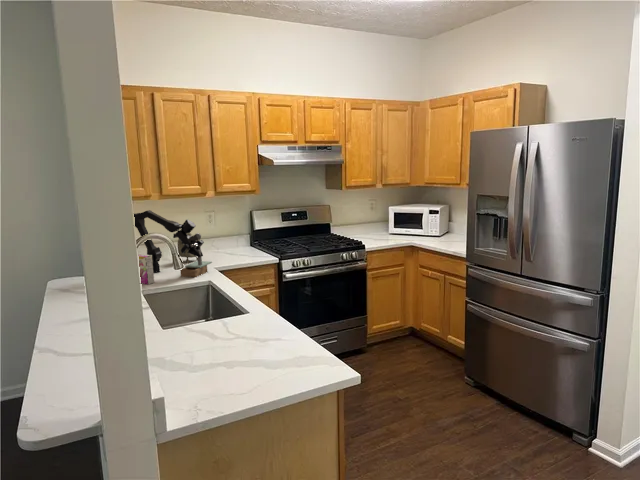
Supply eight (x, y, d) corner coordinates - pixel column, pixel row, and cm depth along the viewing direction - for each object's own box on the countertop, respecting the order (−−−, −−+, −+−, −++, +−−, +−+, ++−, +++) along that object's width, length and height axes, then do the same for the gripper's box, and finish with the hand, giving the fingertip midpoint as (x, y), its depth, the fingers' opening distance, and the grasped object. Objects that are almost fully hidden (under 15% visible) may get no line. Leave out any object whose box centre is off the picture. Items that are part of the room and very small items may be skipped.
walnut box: (195, 277, 260) (194, 270, 259) (180, 276, 263) (180, 269, 262) (207, 272, 273) (207, 265, 272) (193, 271, 276) (192, 264, 275)
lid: (200, 267, 264) (199, 251, 263) (185, 267, 267) (184, 250, 265) (212, 262, 278) (211, 247, 276) (197, 262, 281) (196, 246, 279)
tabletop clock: (188, 263, 299) (185, 227, 295) (177, 263, 302) (175, 227, 298) (201, 259, 312) (199, 225, 308) (191, 258, 315) (188, 224, 311)
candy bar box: (133, 283, 250) (131, 255, 247) (140, 281, 254) (138, 253, 252) (148, 284, 245) (145, 256, 243) (154, 282, 250) (152, 254, 247)
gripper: (183, 231, 257) (201, 250, 256) (200, 227, 275) (216, 245, 273) (172, 244, 260) (190, 262, 259) (190, 239, 278) (206, 256, 277)
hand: (201, 256), depth 267 cm, fingers closed on lid, 2 cm apart
